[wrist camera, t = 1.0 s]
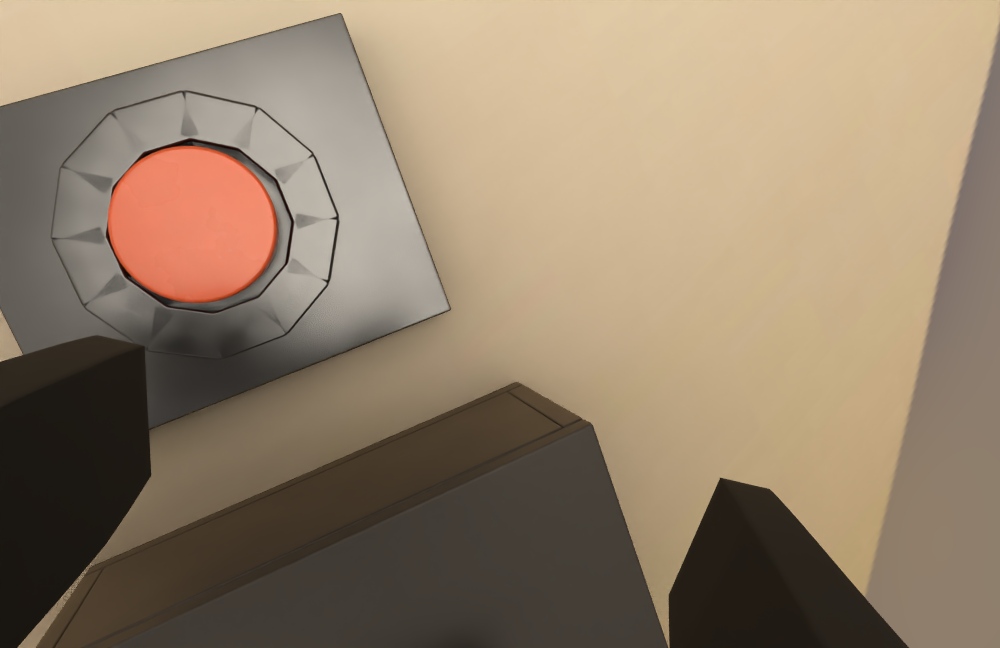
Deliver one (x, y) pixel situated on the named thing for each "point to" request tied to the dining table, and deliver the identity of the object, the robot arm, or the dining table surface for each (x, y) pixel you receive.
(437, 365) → the dining table surface
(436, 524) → the box lid
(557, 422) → the dark grey box
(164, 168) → the button
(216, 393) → the button pad
